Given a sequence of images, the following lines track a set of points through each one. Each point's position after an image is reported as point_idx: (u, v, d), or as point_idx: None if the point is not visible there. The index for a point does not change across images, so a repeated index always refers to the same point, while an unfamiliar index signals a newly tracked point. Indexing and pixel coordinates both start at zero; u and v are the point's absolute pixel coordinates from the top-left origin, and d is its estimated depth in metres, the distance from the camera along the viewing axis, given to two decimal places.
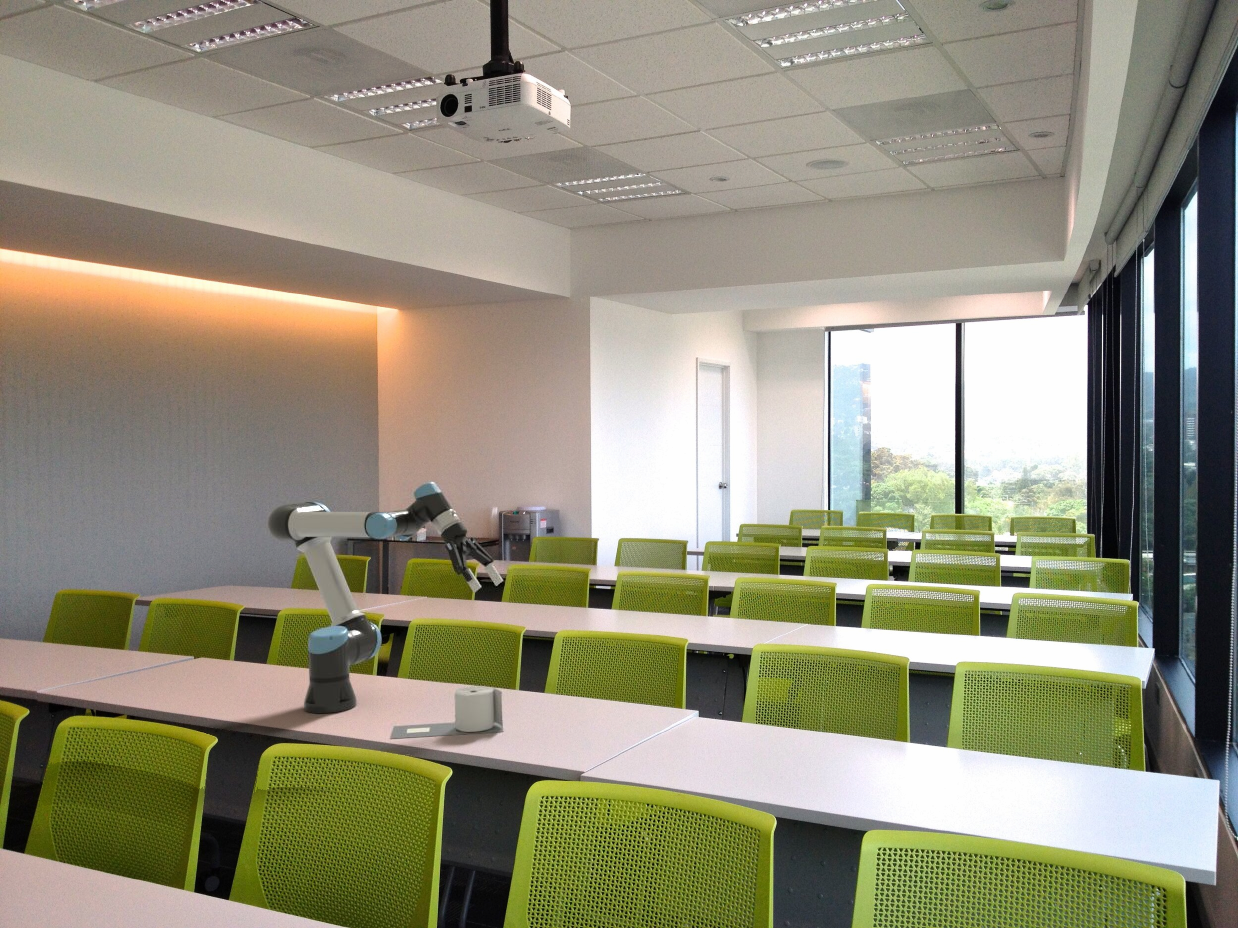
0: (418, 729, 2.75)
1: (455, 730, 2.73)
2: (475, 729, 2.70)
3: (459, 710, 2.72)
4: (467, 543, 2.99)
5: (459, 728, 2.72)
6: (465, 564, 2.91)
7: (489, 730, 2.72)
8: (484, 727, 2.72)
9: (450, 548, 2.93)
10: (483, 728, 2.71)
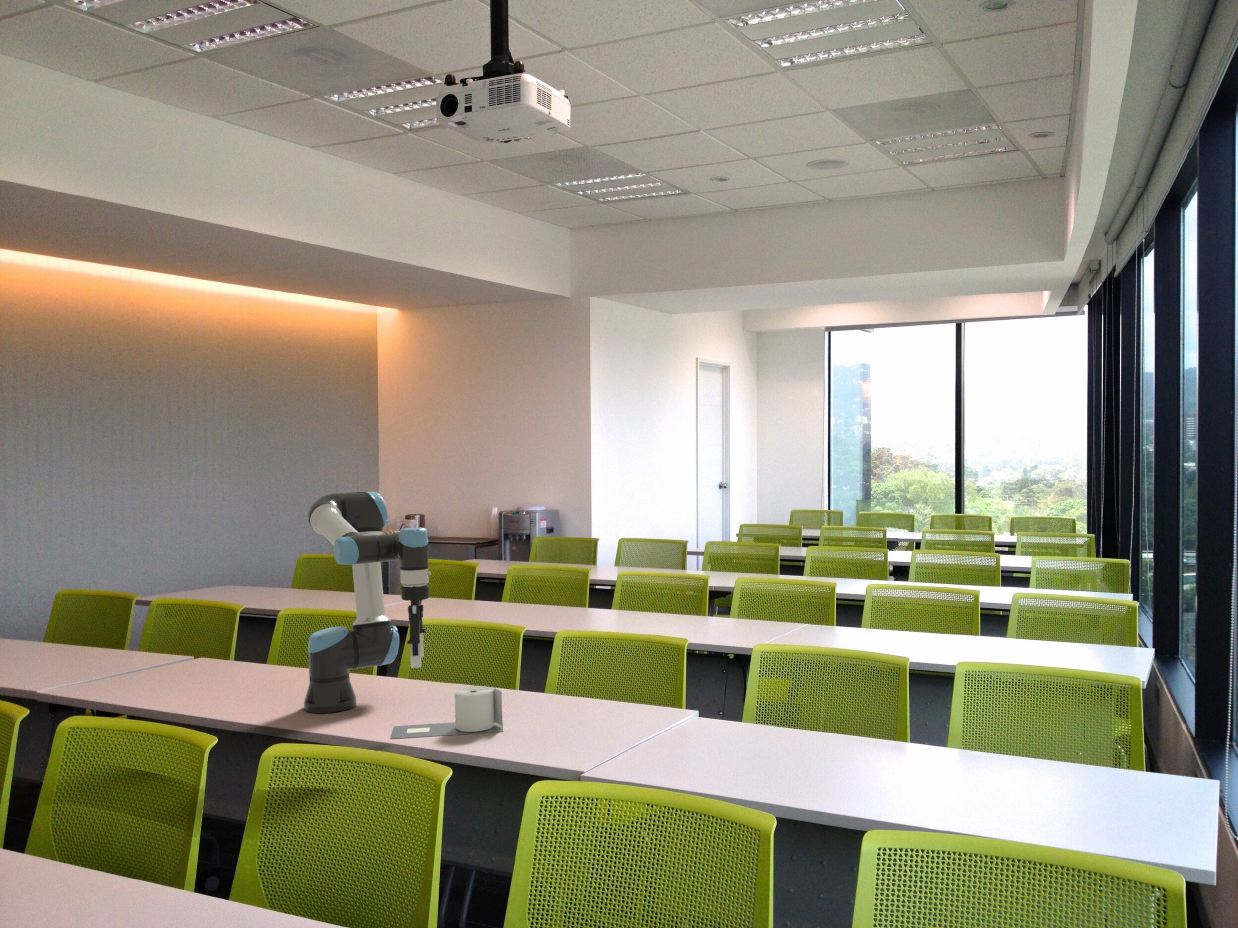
0: (418, 729, 2.75)
1: (455, 730, 2.73)
2: (475, 729, 2.70)
3: (459, 710, 2.72)
4: None
5: (459, 728, 2.72)
6: (419, 637, 2.67)
7: (489, 730, 2.72)
8: (484, 727, 2.72)
9: (414, 612, 2.67)
10: (483, 728, 2.71)
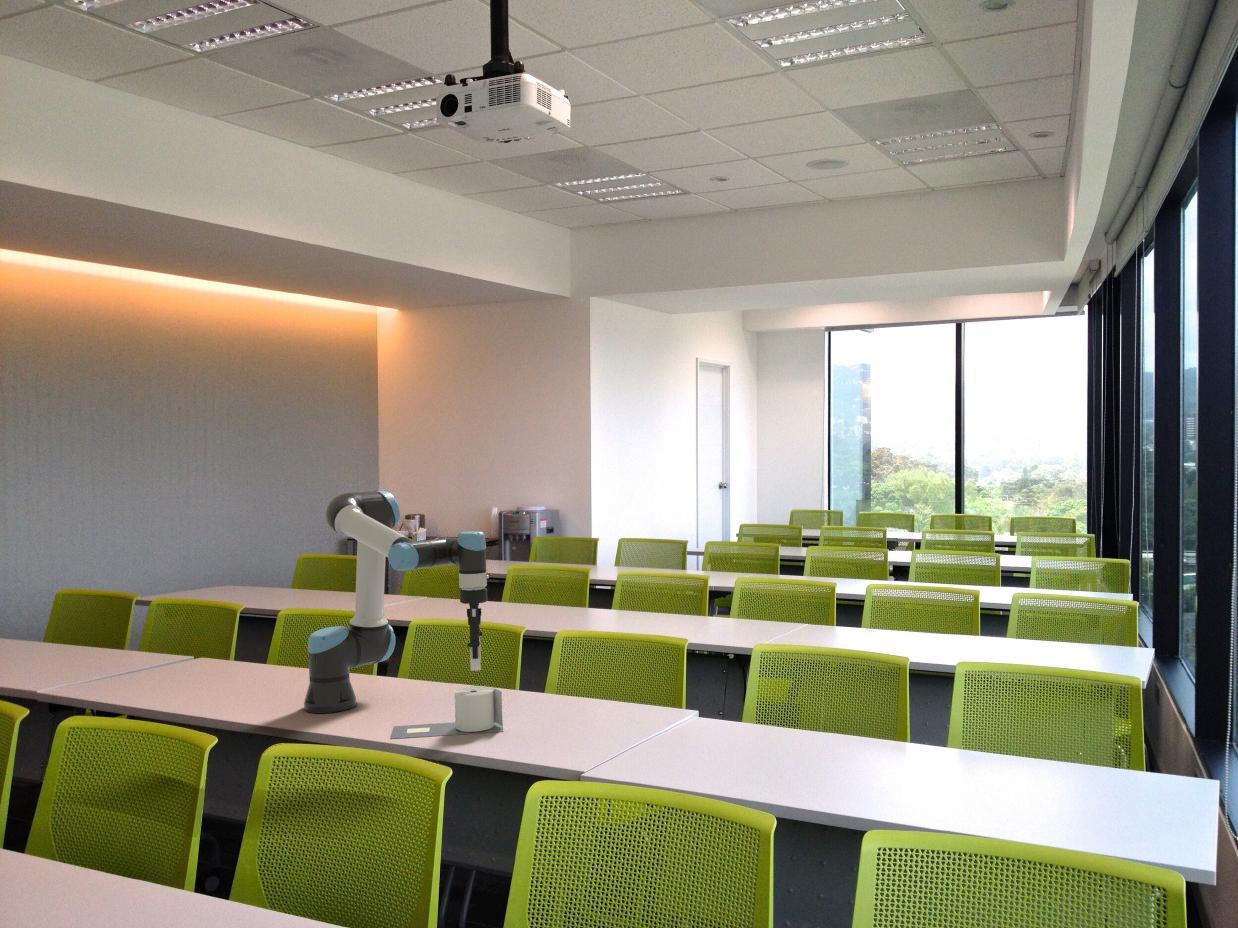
0: (418, 729, 2.75)
1: (455, 730, 2.73)
2: (475, 729, 2.70)
3: (459, 710, 2.72)
4: None
5: (459, 728, 2.72)
6: None
7: (489, 730, 2.72)
8: (484, 727, 2.72)
9: (473, 615, 2.68)
10: (483, 728, 2.71)
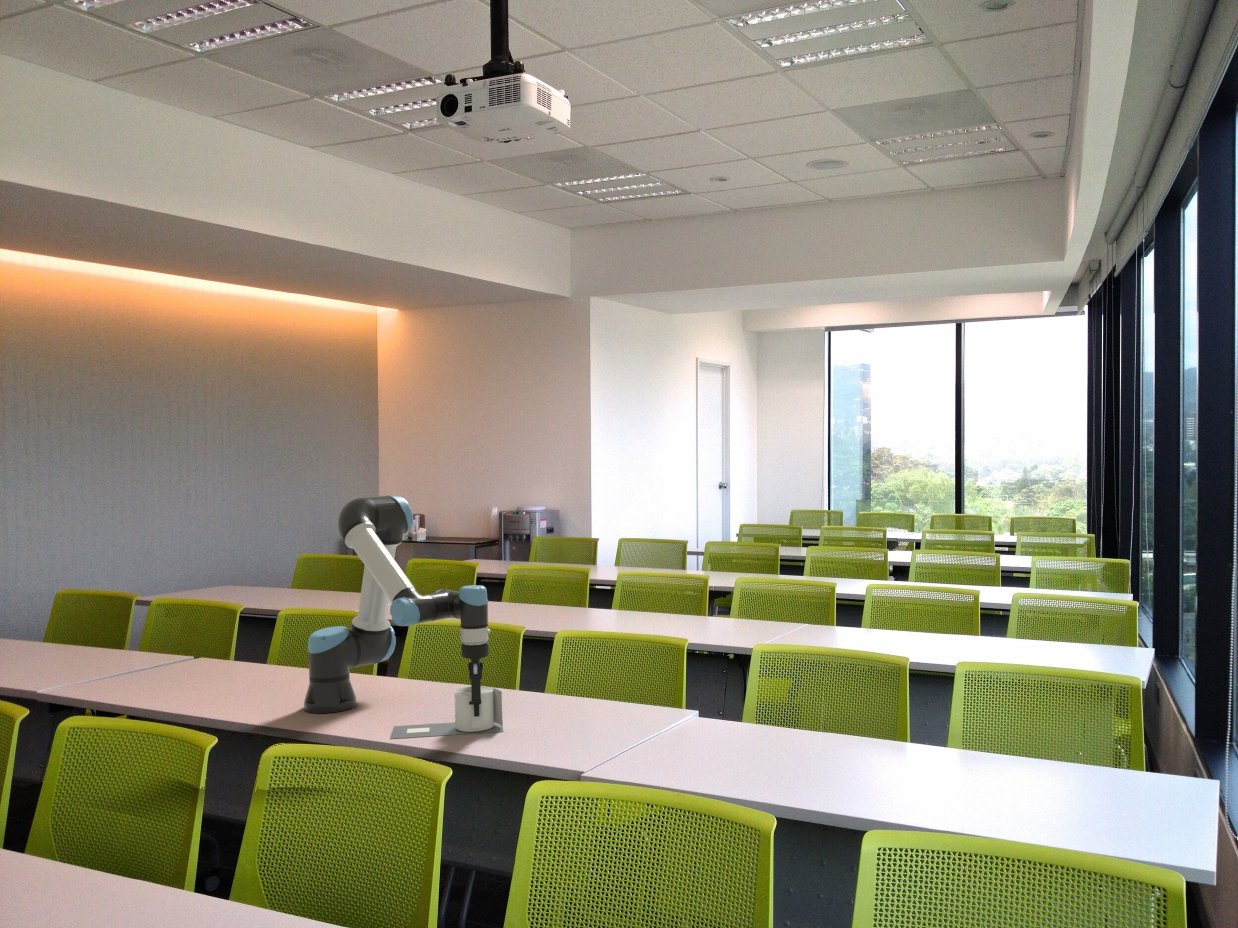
0: (418, 729, 2.75)
1: (455, 730, 2.73)
2: (475, 729, 2.71)
3: (459, 710, 2.72)
4: None
5: (459, 728, 2.72)
6: None
7: (489, 730, 2.72)
8: (484, 727, 2.72)
9: (475, 673, 2.69)
10: (483, 728, 2.71)
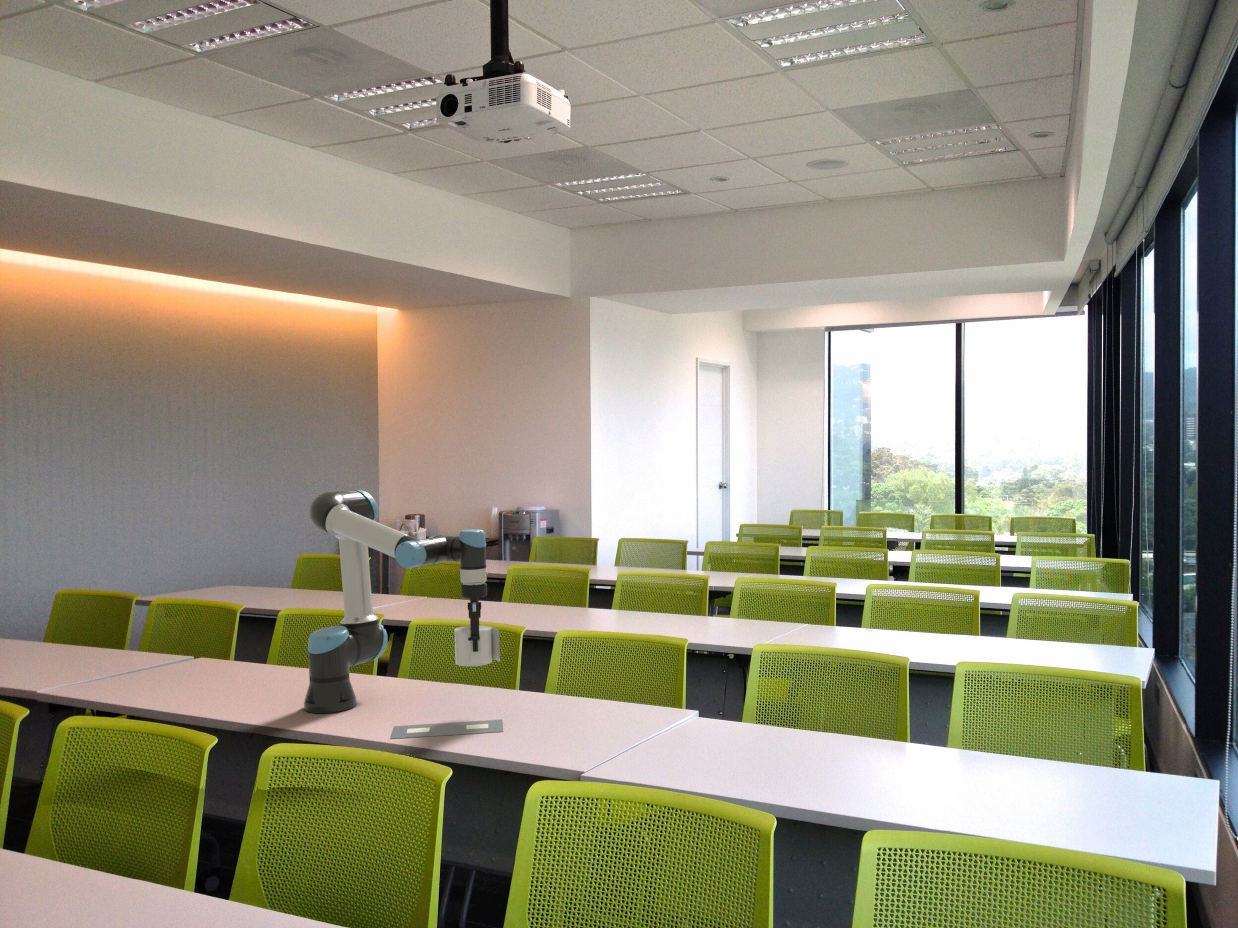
0: (418, 729, 2.75)
1: (455, 730, 2.73)
2: (474, 664, 2.86)
3: (458, 646, 2.87)
4: None
5: (459, 663, 2.88)
6: None
7: (489, 730, 2.72)
8: (482, 662, 2.87)
9: (474, 611, 2.84)
10: (481, 663, 2.87)
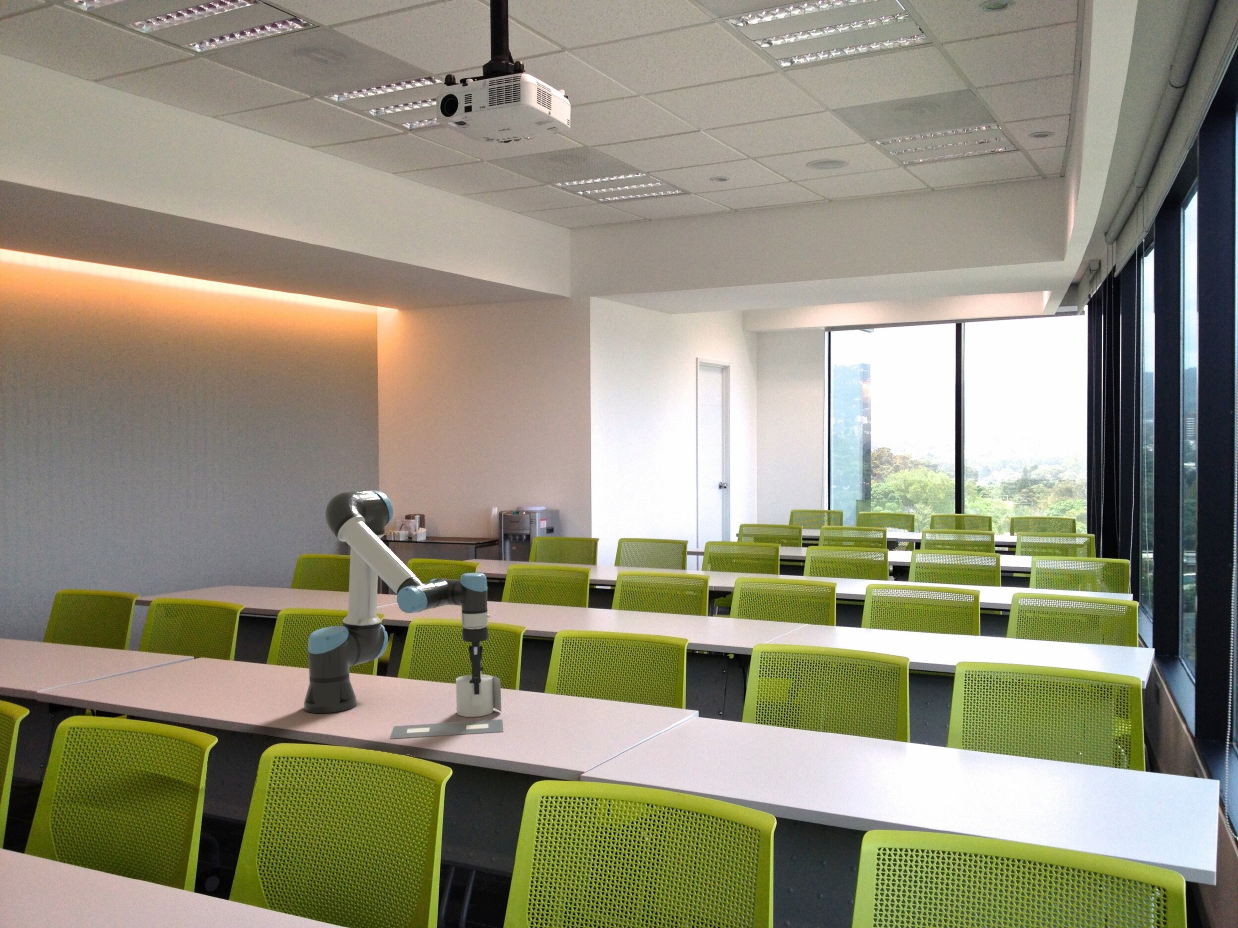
0: (418, 729, 2.75)
1: (455, 730, 2.73)
2: (475, 714, 2.86)
3: (460, 696, 2.88)
4: None
5: (460, 713, 2.88)
6: None
7: (489, 730, 2.72)
8: (484, 712, 2.88)
9: (475, 653, 2.85)
10: (483, 713, 2.87)
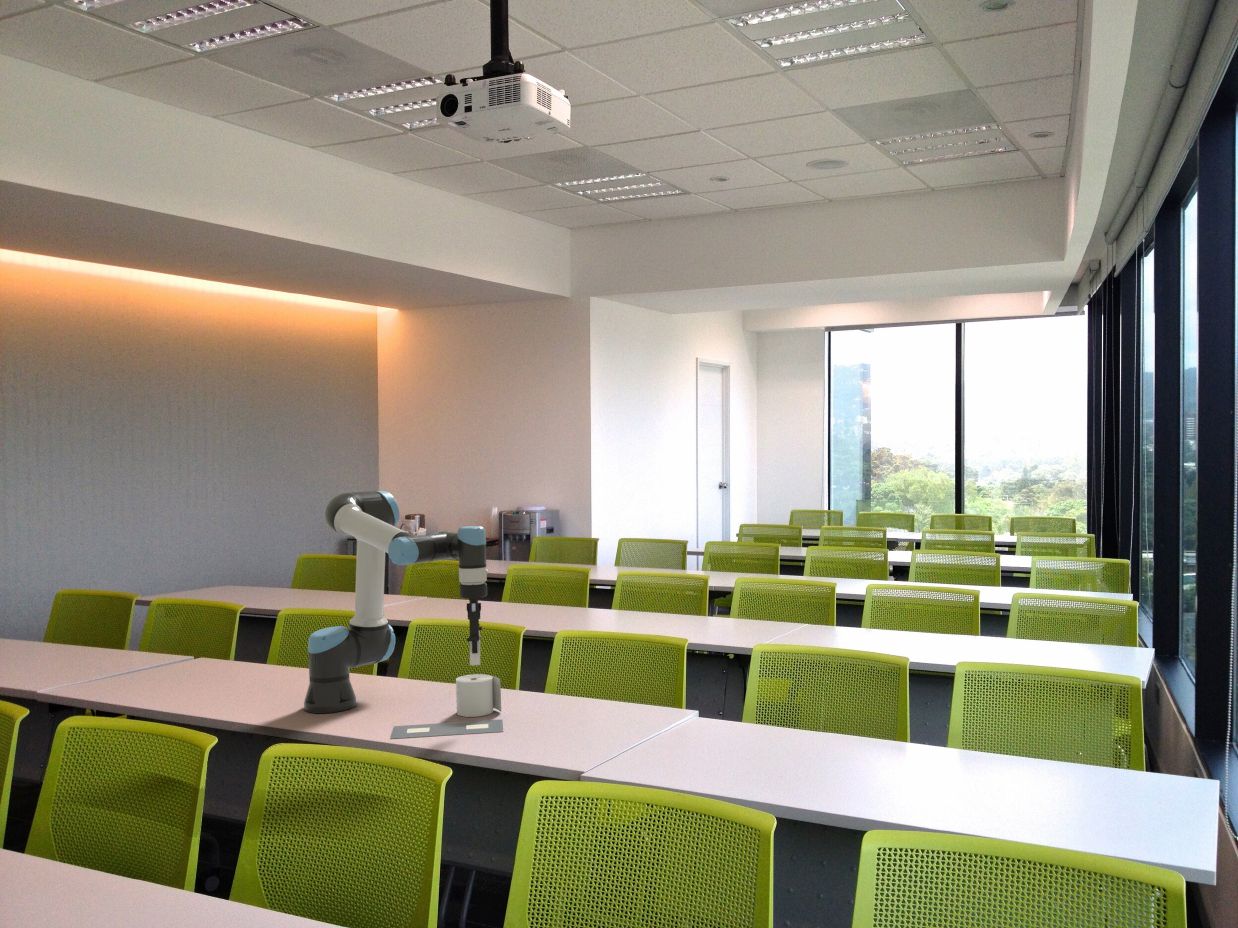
0: (418, 729, 2.75)
1: (455, 730, 2.73)
2: (475, 714, 2.86)
3: (460, 696, 2.88)
4: None
5: (460, 713, 2.88)
6: None
7: (489, 730, 2.72)
8: (484, 712, 2.88)
9: (473, 610, 2.68)
10: (483, 713, 2.87)
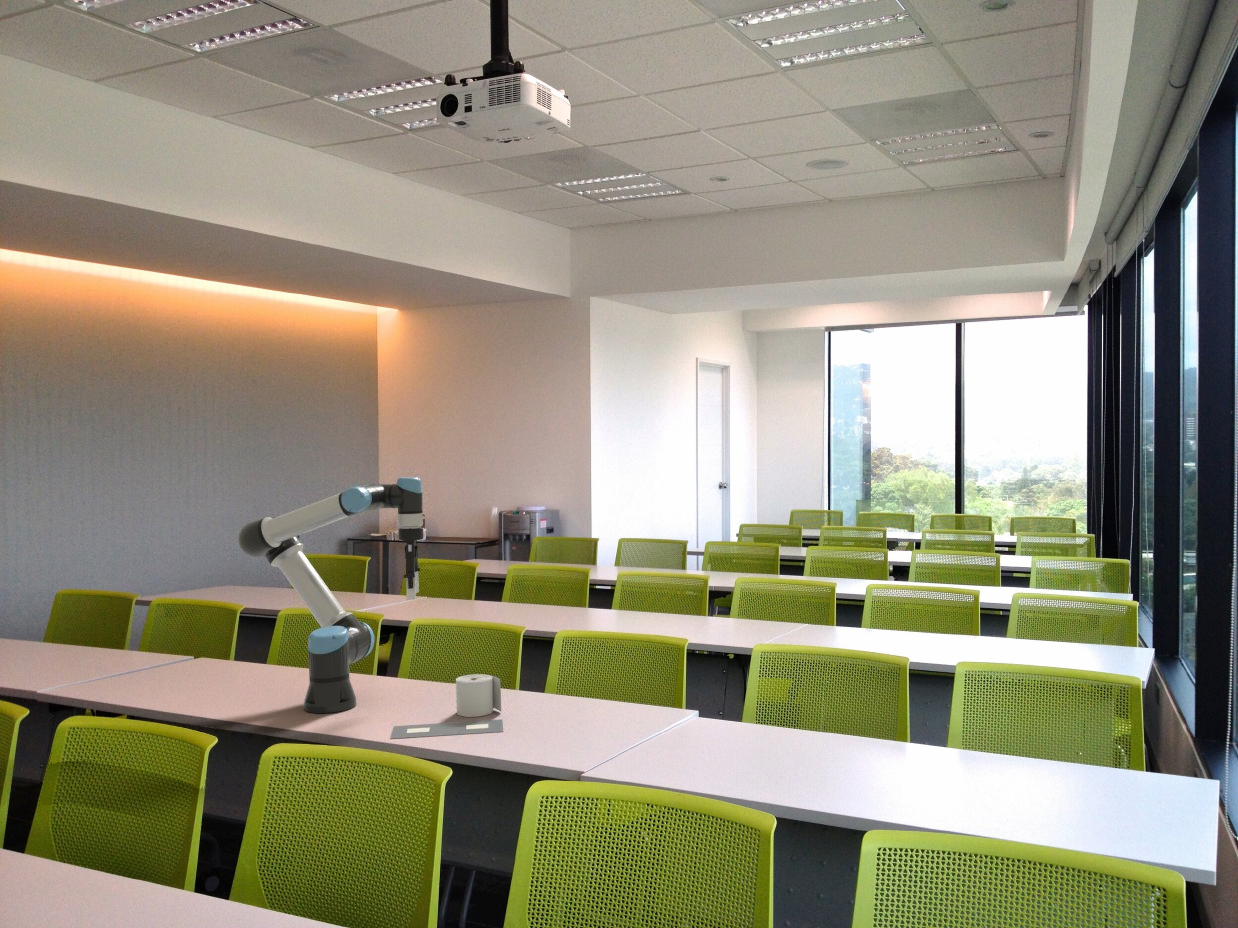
0: (418, 729, 2.75)
1: (455, 730, 2.73)
2: (475, 714, 2.86)
3: (460, 696, 2.88)
4: None
5: (460, 713, 2.88)
6: (414, 572, 3.03)
7: (489, 730, 2.72)
8: (484, 712, 2.88)
9: (409, 550, 3.02)
10: (483, 713, 2.87)
